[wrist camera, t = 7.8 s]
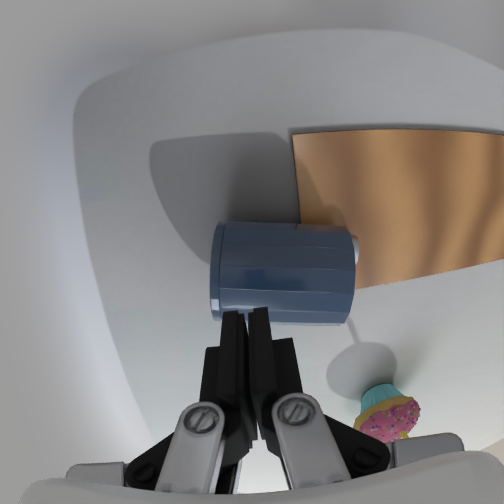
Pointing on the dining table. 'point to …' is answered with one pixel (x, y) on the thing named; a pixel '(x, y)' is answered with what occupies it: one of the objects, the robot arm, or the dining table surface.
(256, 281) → the cup
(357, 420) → the cupcake
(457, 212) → the placemat
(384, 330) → the dining table surface
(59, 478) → the robot arm
